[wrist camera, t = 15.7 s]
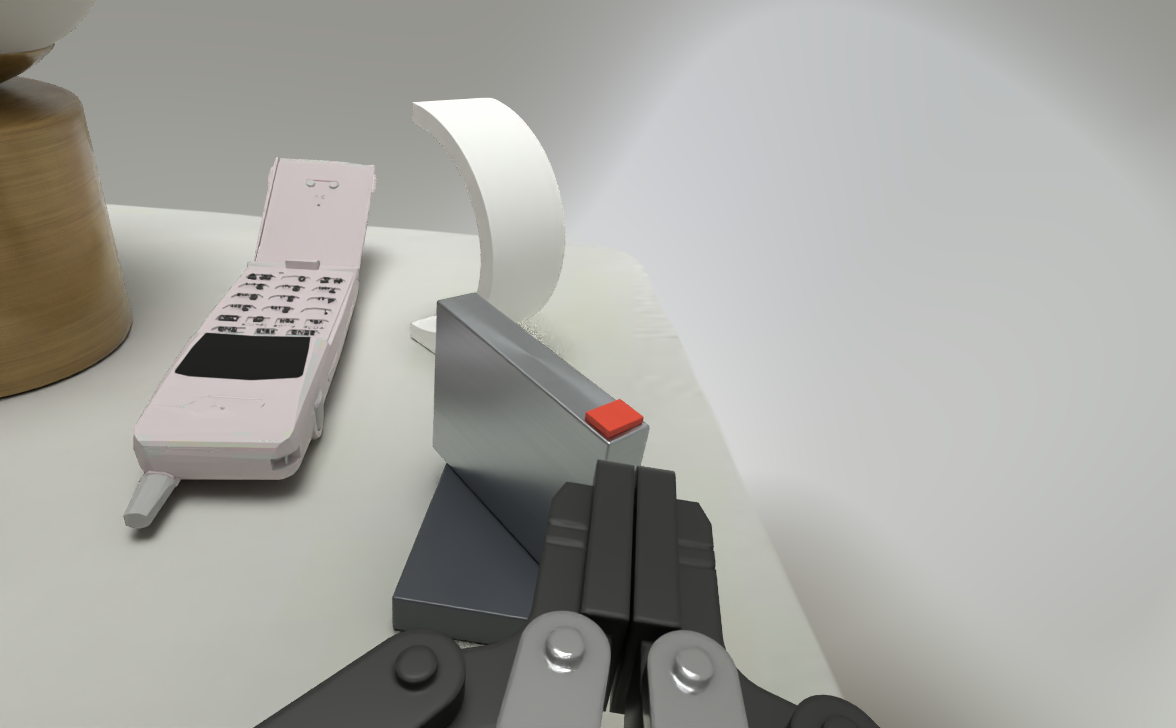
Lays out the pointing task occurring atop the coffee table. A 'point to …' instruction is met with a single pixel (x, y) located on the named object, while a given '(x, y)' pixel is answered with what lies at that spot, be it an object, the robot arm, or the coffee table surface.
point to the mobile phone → (262, 343)
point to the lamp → (50, 214)
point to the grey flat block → (520, 417)
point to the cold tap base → (464, 571)
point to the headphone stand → (501, 204)
